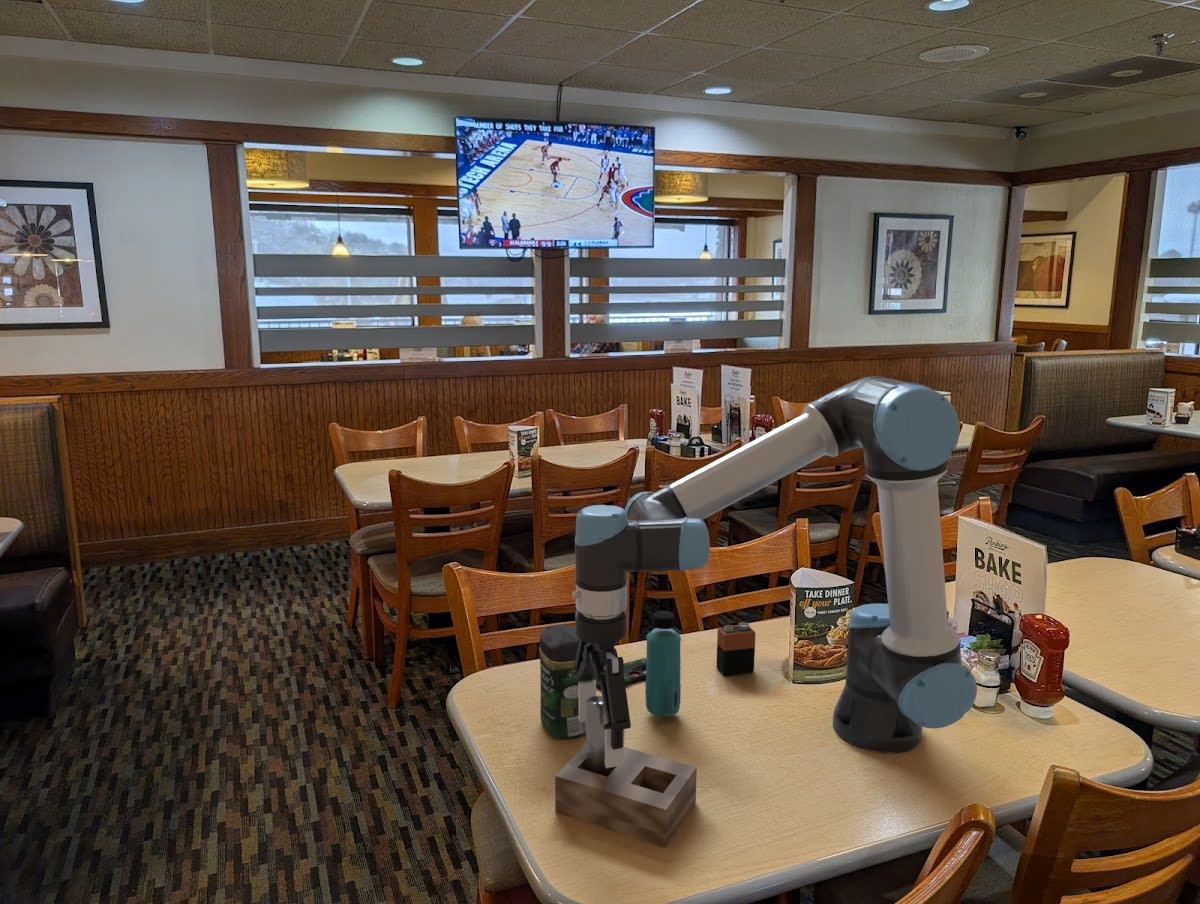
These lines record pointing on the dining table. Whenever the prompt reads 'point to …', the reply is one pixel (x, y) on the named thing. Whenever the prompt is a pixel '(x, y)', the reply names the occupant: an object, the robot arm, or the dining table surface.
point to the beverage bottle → (663, 666)
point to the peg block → (629, 795)
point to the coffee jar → (560, 682)
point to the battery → (735, 649)
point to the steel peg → (596, 736)
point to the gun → (632, 672)
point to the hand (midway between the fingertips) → (600, 741)
